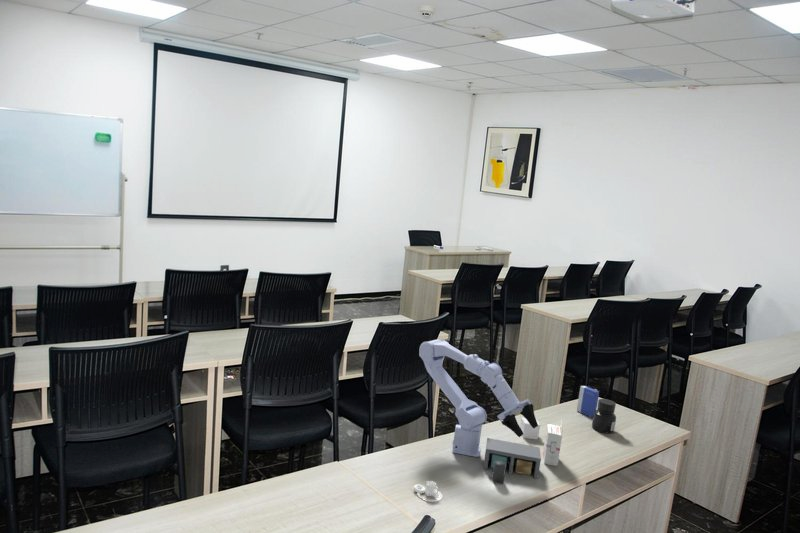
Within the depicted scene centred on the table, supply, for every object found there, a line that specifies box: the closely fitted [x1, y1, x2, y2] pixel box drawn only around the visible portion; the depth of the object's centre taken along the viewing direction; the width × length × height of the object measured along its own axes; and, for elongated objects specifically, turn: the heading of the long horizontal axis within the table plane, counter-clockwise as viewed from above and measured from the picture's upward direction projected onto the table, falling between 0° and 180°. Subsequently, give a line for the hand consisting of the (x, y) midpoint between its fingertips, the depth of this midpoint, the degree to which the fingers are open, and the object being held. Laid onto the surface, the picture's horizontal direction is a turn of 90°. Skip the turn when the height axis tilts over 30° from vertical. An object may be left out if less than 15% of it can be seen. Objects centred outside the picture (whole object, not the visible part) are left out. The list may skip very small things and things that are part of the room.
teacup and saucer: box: [413, 480, 443, 503], centre depth 177 cm, size 9×8×4 cm
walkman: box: [576, 385, 600, 418], centre depth 258 cm, size 8×3×12 cm, turn 39°
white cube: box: [519, 416, 541, 440], centre depth 229 cm, size 6×6×6 cm
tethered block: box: [490, 453, 508, 485], centre depth 195 cm, size 5×16×6 cm, turn 169°
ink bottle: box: [591, 398, 617, 434], centre depth 242 cm, size 10×9×12 cm
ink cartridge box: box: [542, 418, 563, 467], centre depth 208 cm, size 9×5×15 cm, turn 168°
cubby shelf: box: [483, 437, 542, 480], centre depth 199 cm, size 18×9×7 cm, turn 79°
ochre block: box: [514, 458, 533, 475], centre depth 199 cm, size 5×5×4 cm
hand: (528, 431), depth 194 cm, fingers open, 7 cm apart
